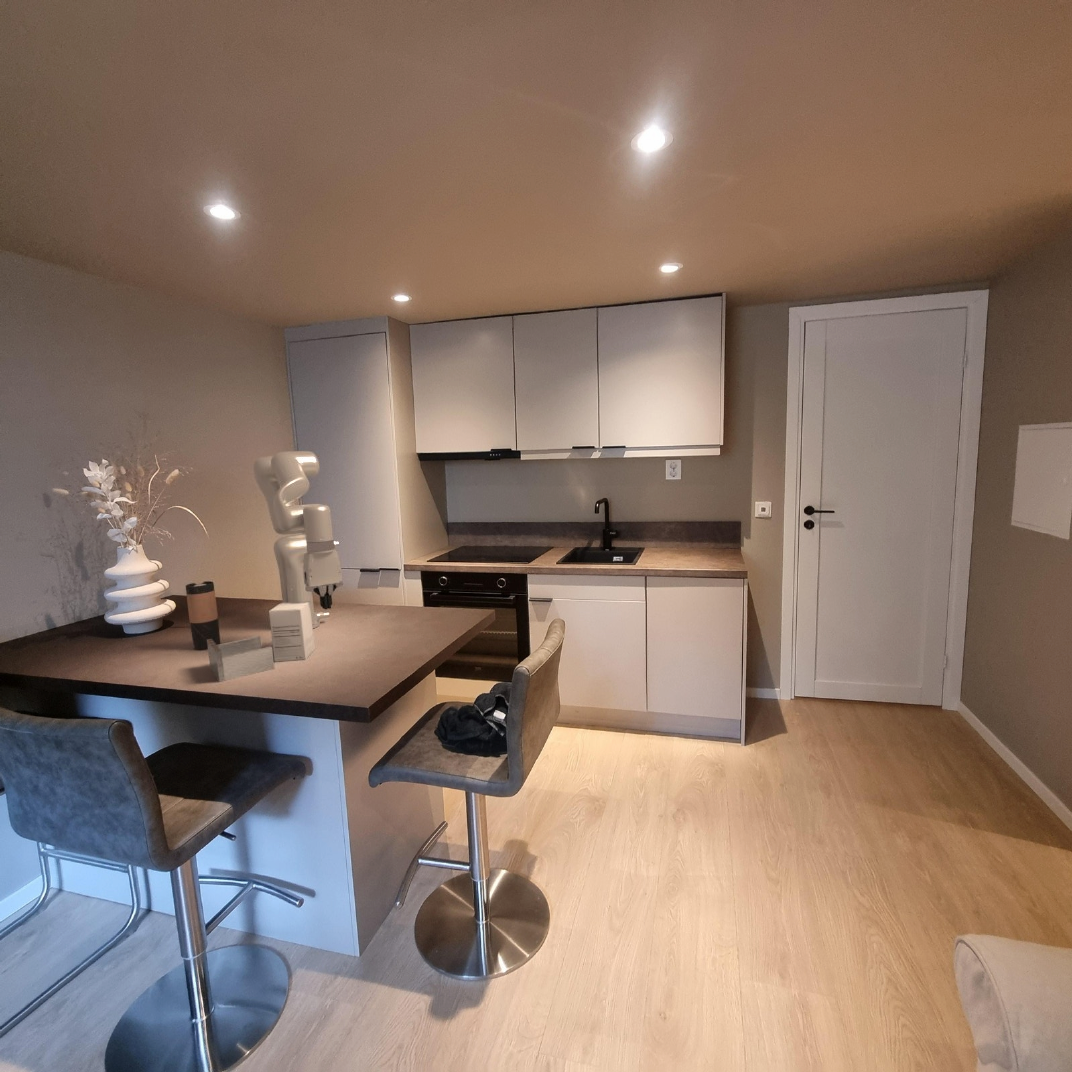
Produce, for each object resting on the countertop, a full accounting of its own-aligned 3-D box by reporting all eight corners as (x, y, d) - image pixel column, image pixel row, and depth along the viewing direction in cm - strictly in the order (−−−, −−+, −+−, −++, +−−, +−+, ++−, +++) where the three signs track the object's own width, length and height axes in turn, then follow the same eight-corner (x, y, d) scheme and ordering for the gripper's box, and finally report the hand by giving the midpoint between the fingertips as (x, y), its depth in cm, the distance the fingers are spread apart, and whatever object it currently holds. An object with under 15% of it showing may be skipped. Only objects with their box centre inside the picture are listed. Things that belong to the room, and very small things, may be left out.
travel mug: (208, 651, 172) (200, 586, 169) (187, 650, 173) (178, 586, 171) (227, 642, 179) (219, 581, 177) (206, 642, 181) (198, 581, 178)
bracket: (261, 655, 165) (258, 629, 164) (274, 668, 154) (271, 640, 153) (210, 667, 157) (206, 639, 156) (219, 682, 146) (216, 652, 145)
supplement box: (284, 651, 168) (279, 602, 166) (315, 649, 169) (310, 600, 167) (273, 662, 159) (267, 610, 157) (306, 660, 160) (300, 608, 158)
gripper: (341, 543, 173) (347, 601, 175) (290, 549, 164) (296, 611, 166) (350, 544, 167) (356, 605, 169) (297, 551, 158) (304, 615, 160)
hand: (326, 608), depth 168 cm, fingers closed
